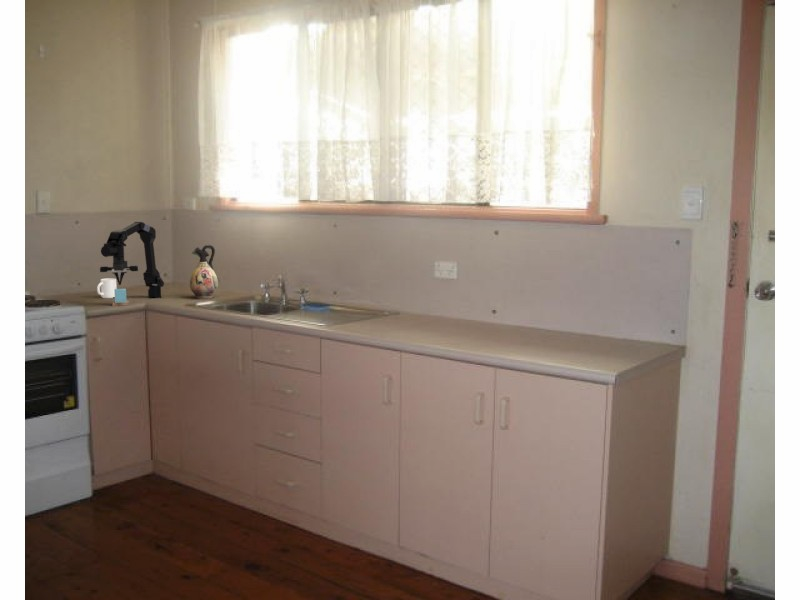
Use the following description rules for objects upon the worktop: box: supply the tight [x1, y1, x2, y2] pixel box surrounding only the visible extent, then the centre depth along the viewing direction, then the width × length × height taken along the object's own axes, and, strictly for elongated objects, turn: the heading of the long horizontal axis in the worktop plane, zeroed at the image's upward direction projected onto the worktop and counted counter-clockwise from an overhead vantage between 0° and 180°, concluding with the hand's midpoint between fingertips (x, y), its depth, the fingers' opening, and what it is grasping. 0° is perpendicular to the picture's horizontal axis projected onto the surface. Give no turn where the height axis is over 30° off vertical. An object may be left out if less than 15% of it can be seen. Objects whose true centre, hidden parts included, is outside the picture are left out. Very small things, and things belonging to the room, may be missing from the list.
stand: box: [112, 300, 130, 307], centre depth 421 cm, size 8×8×7 cm
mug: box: [96, 277, 118, 299], centre depth 446 cm, size 12×8×10 cm
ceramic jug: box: [189, 244, 219, 300], centre depth 446 cm, size 17×15×30 cm
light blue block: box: [114, 288, 127, 303], centre depth 421 cm, size 6×6×7 cm
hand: (119, 284), depth 420 cm, fingers closed
